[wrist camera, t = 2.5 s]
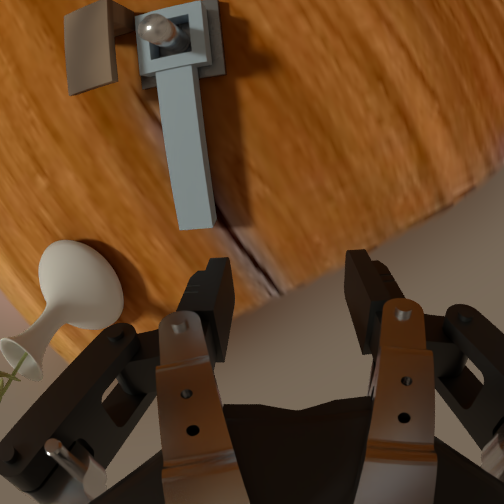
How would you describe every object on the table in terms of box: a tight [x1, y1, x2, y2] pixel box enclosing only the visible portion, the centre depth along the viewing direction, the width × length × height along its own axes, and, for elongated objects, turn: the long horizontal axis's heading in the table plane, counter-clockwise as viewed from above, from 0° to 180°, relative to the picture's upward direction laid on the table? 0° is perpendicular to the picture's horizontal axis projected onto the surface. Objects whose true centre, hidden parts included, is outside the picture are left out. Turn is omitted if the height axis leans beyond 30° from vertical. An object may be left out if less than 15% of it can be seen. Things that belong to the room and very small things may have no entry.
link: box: [135, 1, 217, 230], centre depth 22 cm, size 18×5×2 cm, turn 6°
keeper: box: [64, 0, 135, 96], centre depth 19 cm, size 4×7×5 cm, turn 5°
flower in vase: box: [0, 240, 124, 402], centre depth 21 cm, size 13×11×25 cm
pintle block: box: [138, 0, 227, 89], centre depth 18 cm, size 7×7×7 cm
